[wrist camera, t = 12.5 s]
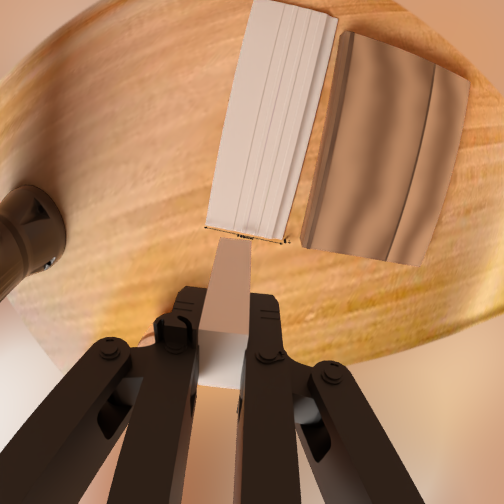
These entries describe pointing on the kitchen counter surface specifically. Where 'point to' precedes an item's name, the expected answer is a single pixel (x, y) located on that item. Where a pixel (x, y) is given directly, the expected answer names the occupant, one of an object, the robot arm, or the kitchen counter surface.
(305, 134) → the baseboard molding
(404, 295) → the kitchen counter surface
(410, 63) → the grooved tan panel
